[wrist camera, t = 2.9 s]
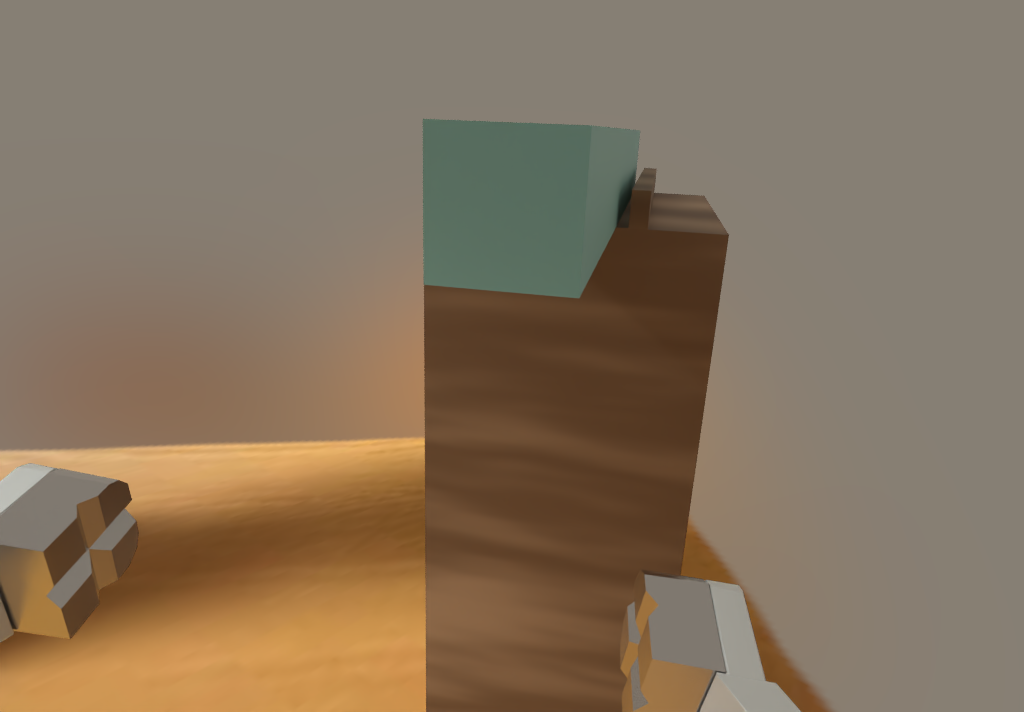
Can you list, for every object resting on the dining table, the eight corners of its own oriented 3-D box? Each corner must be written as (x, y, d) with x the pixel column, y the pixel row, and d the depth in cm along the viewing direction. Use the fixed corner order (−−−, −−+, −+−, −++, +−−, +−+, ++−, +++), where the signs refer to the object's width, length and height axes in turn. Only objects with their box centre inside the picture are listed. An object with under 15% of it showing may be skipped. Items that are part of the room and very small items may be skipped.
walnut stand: (643, 830, 29) (734, 195, 20) (426, 779, 31) (423, 178, 22) (650, 615, 42) (707, 171, 33) (496, 589, 44) (512, 161, 35)
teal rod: (578, 298, 12) (591, 125, 11) (423, 284, 13) (422, 119, 12) (634, 191, 34) (640, 130, 34) (576, 188, 35) (580, 128, 34)
